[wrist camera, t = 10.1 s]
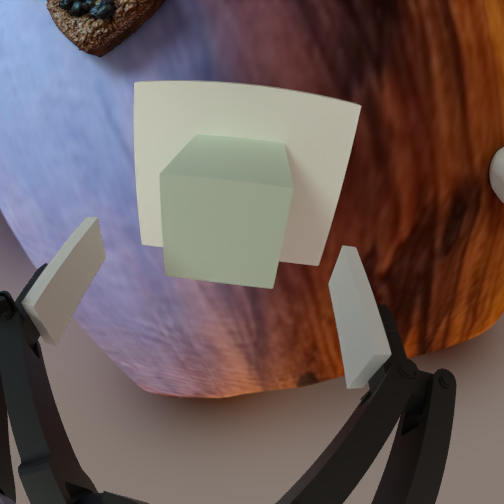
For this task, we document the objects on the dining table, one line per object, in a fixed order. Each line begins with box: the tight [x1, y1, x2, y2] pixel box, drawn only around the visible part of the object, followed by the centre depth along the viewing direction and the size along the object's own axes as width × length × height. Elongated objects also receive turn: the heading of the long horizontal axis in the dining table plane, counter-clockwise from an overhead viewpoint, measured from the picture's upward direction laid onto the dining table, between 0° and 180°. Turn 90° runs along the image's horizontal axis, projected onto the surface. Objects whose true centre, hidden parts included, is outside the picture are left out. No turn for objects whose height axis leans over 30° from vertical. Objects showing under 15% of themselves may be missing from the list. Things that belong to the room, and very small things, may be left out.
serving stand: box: [134, 80, 361, 266], centre depth 26 cm, size 16×18×4 cm
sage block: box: [159, 134, 294, 289], centre depth 20 cm, size 7×7×9 cm
